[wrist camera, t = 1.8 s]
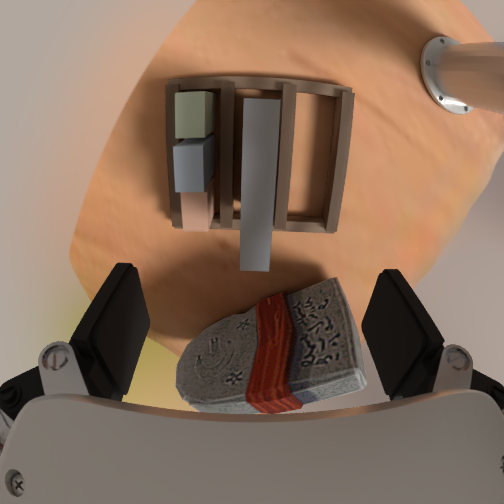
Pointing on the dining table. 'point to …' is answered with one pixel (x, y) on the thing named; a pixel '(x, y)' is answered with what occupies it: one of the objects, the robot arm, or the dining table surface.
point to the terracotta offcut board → (198, 208)
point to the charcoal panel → (258, 181)
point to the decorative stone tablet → (275, 355)
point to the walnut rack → (285, 149)
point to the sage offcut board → (194, 114)
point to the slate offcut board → (194, 163)
